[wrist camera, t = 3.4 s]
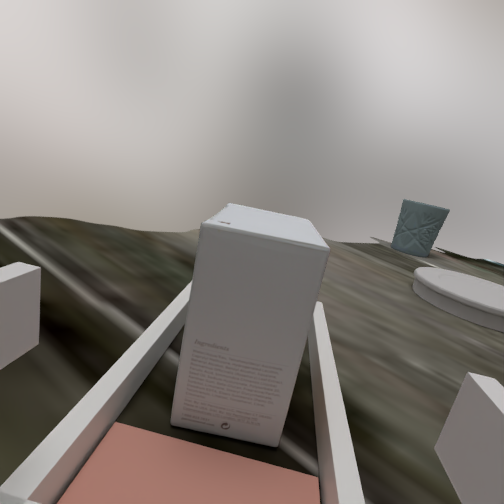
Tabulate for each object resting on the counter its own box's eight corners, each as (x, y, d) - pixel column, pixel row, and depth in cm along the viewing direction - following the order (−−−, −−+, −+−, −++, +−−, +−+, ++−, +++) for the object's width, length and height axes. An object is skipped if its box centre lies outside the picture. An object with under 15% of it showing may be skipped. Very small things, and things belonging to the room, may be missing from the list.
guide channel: (-33, 574, 10) (-35, 524, 9) (195, 292, 32) (198, 273, 31) (374, 704, 9) (398, 658, 8) (316, 321, 31) (321, 302, 30)
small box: (277, 453, 16) (334, 248, 13) (166, 428, 16) (199, 219, 13) (277, 359, 24) (313, 218, 21) (202, 342, 24) (227, 200, 21)
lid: (496, 295, 56) (503, 279, 55) (587, 357, 37) (600, 334, 36) (393, 270, 58) (398, 255, 58) (429, 316, 39) (438, 294, 38)
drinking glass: (382, 242, 85) (397, 197, 82) (420, 250, 85) (436, 205, 82) (397, 252, 75) (414, 201, 72) (440, 261, 75) (459, 211, 72)
